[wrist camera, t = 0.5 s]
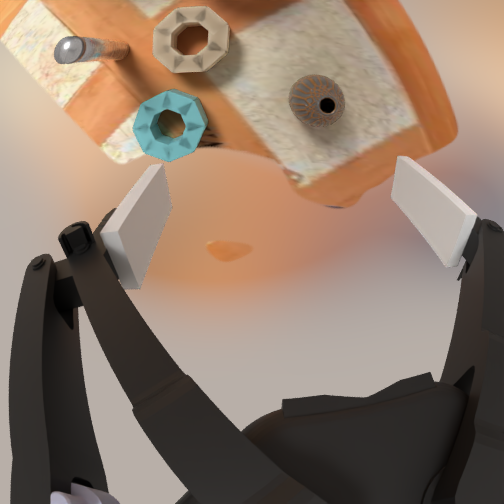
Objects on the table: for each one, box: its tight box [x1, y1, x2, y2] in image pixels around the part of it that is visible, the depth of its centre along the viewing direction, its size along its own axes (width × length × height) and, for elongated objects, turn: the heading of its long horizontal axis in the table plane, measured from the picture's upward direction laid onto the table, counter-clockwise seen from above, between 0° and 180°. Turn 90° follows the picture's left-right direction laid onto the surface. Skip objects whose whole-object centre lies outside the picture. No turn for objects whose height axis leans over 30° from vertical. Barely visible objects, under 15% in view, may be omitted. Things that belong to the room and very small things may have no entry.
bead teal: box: [133, 89, 208, 162], centre depth 34 cm, size 9×9×4 cm
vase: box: [289, 75, 345, 127], centre depth 30 cm, size 7×7×9 cm
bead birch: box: [153, 6, 230, 73], centre depth 27 cm, size 9×9×4 cm
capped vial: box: [54, 36, 129, 64], centre depth 22 cm, size 3×3×14 cm
